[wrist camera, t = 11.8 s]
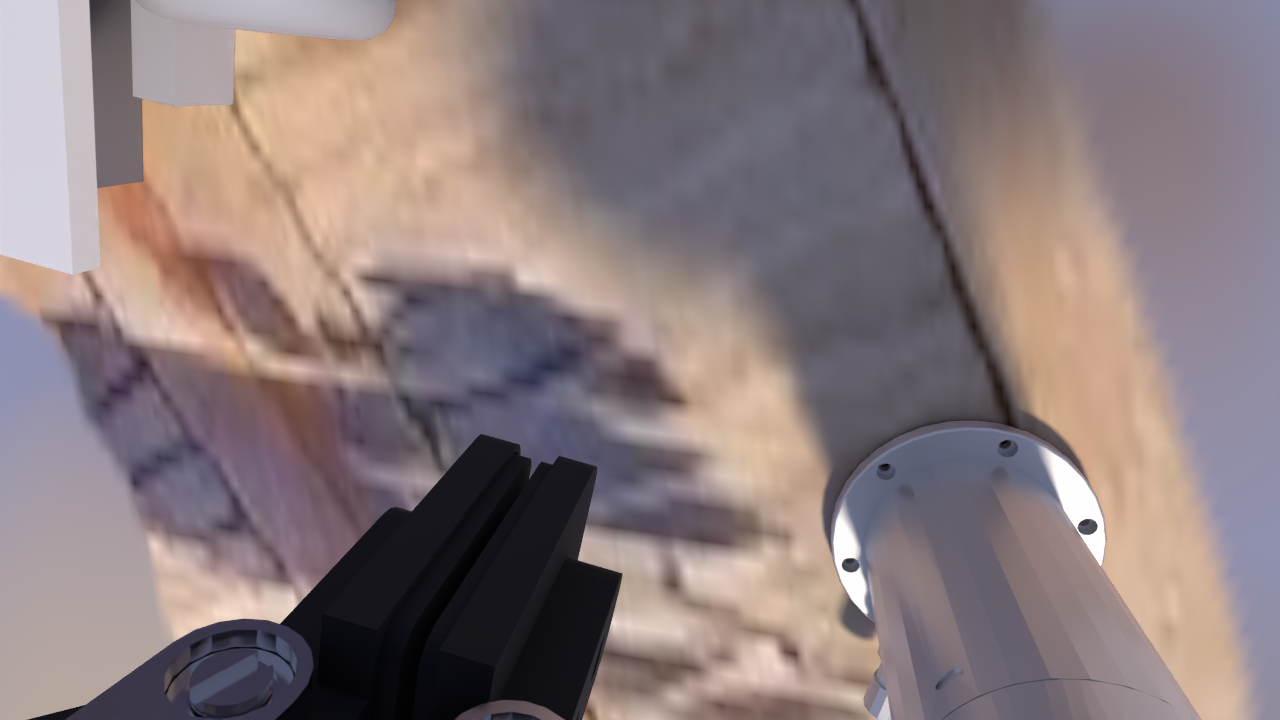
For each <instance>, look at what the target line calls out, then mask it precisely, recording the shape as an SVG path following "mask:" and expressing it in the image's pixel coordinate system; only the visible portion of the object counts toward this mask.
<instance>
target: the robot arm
mask: <svg viewBox="0 0 1280 720" xmlns="http://www.w3.org/2000/svg"><path fill="white" fill-rule="evenodd" d="M1005 440H1008V442H1007V443H1006V444H1004V445H1000V443H1001V442H1003V441H1005ZM882 464H889V465H888V466H887V467H880V465H882ZM530 470H531V459H530V458H527V457H523V456H520V445H519V444H515V443H512V442H508V441H505V440H501V439H497V438H494V437H490V436H487V435H483V434H481V435H479V436H478V437H477V438H476V439H475V440H474V442H473V443H472V444H471V445H470V446H469V447H468V448H467V449H466V451H465V452H464V453H463V454H462V455H461V456H460V457H459V459H458V460H457V461H456V462H455V463H454V464H453V465H452V467H451V468H450V469H449V470H448V471H447V472H446V473H445V475H444V476H443V477H442V478H441V479H440V480H439V481H438V482H437V484H436V485H435V486H434V487H433V488H432V489H431V490H430V492H429V493H428V494H427V495H426V496H425V497H424V498H423V500H422V501H421V502H420V503H419V504H418V505H417V506H416V508H415V509H414V510H413V511H412V512H411V511H408V510H405V509H401V508H398V507H394V508H390V509H389V510H388V511H387V512H385V513H384V514H383V515H382V516H381V517H380V518H379V519H378V520H377V521H376V523H375V524H374V525H373V526H372V527H371V528H370V529H369V530H368V531H367V532H366V533H365V534H364V535H363V536H362V537H361V538H360V540H359V541H358V542H357V543H356V544H355V545H354V546H353V547H352V548H351V549H350V550H349V551H348V552H347V553H346V554H345V555H344V557H343V558H342V559H341V560H340V561H339V562H338V563H337V564H336V565H335V566H334V567H333V568H332V569H331V570H330V571H329V573H328V574H327V575H326V576H325V577H324V578H323V579H322V580H321V581H320V582H319V583H318V584H317V585H316V586H315V587H314V588H313V590H312V591H311V592H310V593H309V594H308V595H307V596H306V597H305V598H304V599H303V600H302V601H301V602H300V603H299V604H298V605H297V607H296V608H295V609H294V610H293V611H292V612H291V613H290V614H289V615H288V616H287V617H286V618H285V619H284V620H283V621H282V622H281V624H278V623H274V622H271V621H268V620H255V619H238V620H231V621H223V622H218V623H215V624H212V625H209V626H206V627H203V628H199V629H196V630H194V631H192V632H191V633H189V634H187V635H185V636H183V637H182V638H180V639H178V640H176V641H175V642H173V643H172V644H170V645H169V646H167V647H166V648H165V649H163V650H162V651H160V652H159V653H158V654H156V655H155V656H153V657H152V658H151V659H149V660H148V661H146V662H145V663H144V664H142V665H141V666H139V667H138V668H137V669H135V670H134V671H132V672H131V673H130V674H128V675H127V676H125V677H124V678H123V679H121V680H120V681H118V682H117V683H116V684H114V685H113V686H111V687H110V688H109V689H107V690H106V691H104V692H103V693H102V694H100V695H99V696H97V697H96V698H95V699H93V700H92V701H90V702H89V703H88V704H86V705H83V706H80V707H76V708H72V709H68V710H64V711H60V712H56V713H52V714H48V715H44V716H40V717H36V718H32V719H29V720H582V718H583V715H584V712H585V709H586V706H587V703H588V699H589V696H590V693H591V690H592V687H593V684H594V681H595V677H596V674H597V671H598V667H599V664H600V661H601V657H602V654H603V650H604V647H605V643H606V639H607V636H608V632H609V628H610V624H611V621H612V617H613V613H614V609H615V605H616V601H617V597H618V593H619V588H620V584H621V580H622V573H618V572H615V571H612V570H608V569H605V568H601V567H598V566H595V565H591V564H588V563H584V562H581V561H578V556H579V552H580V547H581V543H582V538H583V534H584V529H585V525H586V520H587V516H588V511H589V507H590V502H591V498H592V493H593V489H594V484H595V480H596V475H597V467H596V466H593V465H589V464H586V463H582V462H579V461H575V460H572V459H568V458H565V457H561V456H559V457H558V458H557V459H556V461H555V462H554V464H553V465H551V464H548V463H544V462H541V463H540V464H539V465H538V467H537V468H536V470H535V472H534V473H533V475H532V476H531V478H530V479H529V475H530ZM1106 540H1107V538H1106V528H1105V518H1104V515H1103V512H1102V509H1101V506H1100V504H1099V501H1098V498H1097V495H1096V494H1095V492H1094V491H1093V489H1092V488H1091V486H1090V485H1089V483H1088V481H1087V480H1086V478H1085V477H1084V475H1083V474H1082V473H1081V472H1080V471H1079V469H1078V468H1077V467H1076V466H1075V465H1074V464H1073V462H1072V461H1071V460H1070V459H1069V458H1068V457H1066V456H1065V455H1064V454H1063V453H1062V452H1060V451H1059V450H1058V449H1057V448H1055V447H1054V446H1053V445H1052V444H1050V443H1048V442H1046V441H1044V440H1043V439H1041V438H1039V437H1037V436H1035V435H1033V434H1031V433H1029V432H1027V431H1024V430H1021V429H1017V428H1014V427H1011V426H1008V425H1004V424H999V423H992V422H984V421H977V420H973V421H948V422H943V423H938V424H933V425H929V426H924V427H921V428H918V429H915V430H913V431H910V432H908V433H905V434H902V435H900V436H898V437H896V438H894V439H893V440H891V441H889V442H888V443H886V444H884V445H883V446H881V447H879V448H878V449H876V450H875V451H874V452H873V453H872V454H871V455H869V456H868V457H867V458H866V459H865V460H864V461H863V462H862V463H860V464H859V465H858V467H857V468H856V469H855V471H854V472H853V473H852V475H851V476H850V477H849V478H848V480H847V481H846V482H845V484H844V486H843V488H842V490H841V493H840V495H839V497H838V499H837V501H836V504H835V508H834V512H833V516H832V520H831V548H832V555H833V562H834V565H835V568H836V571H837V574H838V577H839V580H840V582H841V584H842V586H843V588H844V589H845V591H846V593H847V594H848V596H849V598H850V599H851V601H852V602H853V603H854V604H855V605H856V606H857V607H858V608H859V609H860V611H861V612H862V613H863V614H864V615H865V616H866V617H867V618H869V619H870V620H871V621H873V622H874V623H875V624H876V630H877V636H878V642H879V648H878V654H879V656H880V658H881V660H882V661H881V663H880V666H879V668H878V669H877V670H876V671H875V673H874V675H873V677H872V679H871V682H870V684H869V687H868V689H867V691H866V694H865V696H864V706H865V707H866V708H867V710H868V711H869V713H871V714H872V715H873V716H874V717H876V718H877V719H879V720H1201V718H1200V717H1199V715H1198V713H1197V712H1196V710H1195V709H1194V707H1193V706H1192V704H1191V703H1190V701H1189V700H1188V698H1187V697H1186V695H1185V694H1184V692H1183V691H1182V689H1181V688H1180V686H1179V684H1178V683H1177V681H1176V680H1175V678H1174V677H1173V675H1172V674H1171V672H1170V671H1169V669H1168V668H1167V666H1166V665H1165V663H1164V662H1163V660H1162V659H1161V657H1160V655H1159V654H1158V652H1157V651H1156V649H1155V648H1154V646H1153V645H1152V643H1151V642H1150V640H1149V639H1148V637H1147V636H1146V634H1145V633H1144V631H1143V630H1142V628H1141V626H1140V625H1139V623H1138V622H1137V620H1136V619H1135V617H1134V616H1133V614H1132V613H1131V611H1130V610H1129V608H1128V607H1127V605H1126V604H1125V602H1124V601H1123V599H1122V597H1121V596H1120V594H1119V593H1118V591H1117V590H1116V588H1115V587H1114V585H1113V584H1112V582H1111V581H1110V579H1109V578H1108V576H1107V575H1106V573H1105V572H1104V570H1103V568H1102V564H1103V562H1104V555H1105V548H1106ZM847 558H851V559H847Z"/></svg>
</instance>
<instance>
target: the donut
mask: <svg viewBox="0 0 1280 720" xmlns="http://www.w3.org/2000/svg"><path fill="white" fill-rule="evenodd" d="M135 1H136V2H137V3H138V4H139V5H140V6H141V7H142V8H144V9H145V10H147V11H149V12H150V13H152V14H154V15H156V16H158V17H160V18H164V19H168V20H172V21H176V22H181V23H188V24H195V25H203V26H211V27H220V28H229V29H237V30H246V31H256V32H265V33H275V34H285V35H295V36H306V37H317V38H328V39H342V40H369V39H372V38H374V37H376V36H379V35H381V34H382V33H383V32H384V31H385V30H386V29H387V28H388V27H389V26H390V24H391V22H392V20H393V18H394V16H395V10H396V3H397V0H135Z"/></svg>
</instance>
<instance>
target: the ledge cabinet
mask: <svg viewBox="0 0 1280 720" xmlns="http://www.w3.org/2000/svg"><path fill="white" fill-rule="evenodd" d="M234 48H235V29H229V28H220V27H211V26H203V25H195V24H188V23H181V22H176V21H172V20H168V19H164V18H160V17H158V16H156V15H154V14H152V13H150V12H149V11H147V10H145V9H144V8H142V7H141V6H140V5H139V4H138V3H137V2H136V1H135V0H0V255H4V256H8V257H11V258H15V259H18V260H22V261H26V262H29V263H33V264H36V265H40V266H44V267H47V268H51V269H54V270H58V271H62V272H65V273H69V274H77V273H81V272H85V271H89V270H92V269H96V268H100V247H99V223H98V199H97V188H101V187H108V186H115V185H121V184H128V183H135V182H142V181H143V145H142V99H146V100H150V101H154V102H158V103H162V104H166V105H170V106H203V105H232V104H233V95H234Z"/></svg>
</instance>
